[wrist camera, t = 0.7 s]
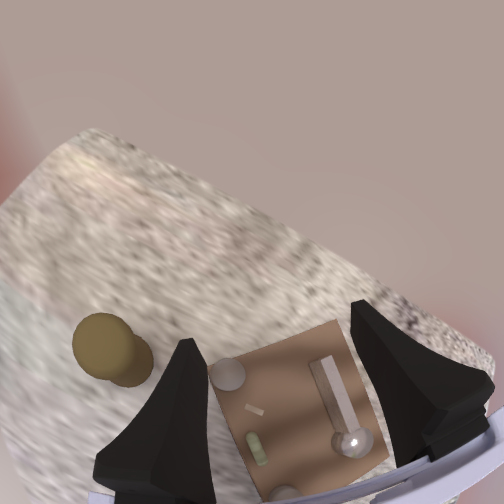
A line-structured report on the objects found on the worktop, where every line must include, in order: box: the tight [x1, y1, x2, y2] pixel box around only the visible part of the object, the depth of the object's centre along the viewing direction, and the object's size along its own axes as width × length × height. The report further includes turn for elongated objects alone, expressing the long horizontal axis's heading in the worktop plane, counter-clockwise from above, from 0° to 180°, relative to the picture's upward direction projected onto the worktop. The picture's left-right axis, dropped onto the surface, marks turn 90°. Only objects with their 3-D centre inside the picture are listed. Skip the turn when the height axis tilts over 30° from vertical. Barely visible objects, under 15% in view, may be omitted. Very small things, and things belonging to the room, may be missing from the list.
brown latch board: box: [207, 319, 390, 503], centre depth 26 cm, size 20×16×4 cm
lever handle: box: [309, 355, 374, 458], centre depth 26 cm, size 12×4×3 cm, turn 21°
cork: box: [72, 313, 154, 388], centre depth 22 cm, size 6×6×11 cm
